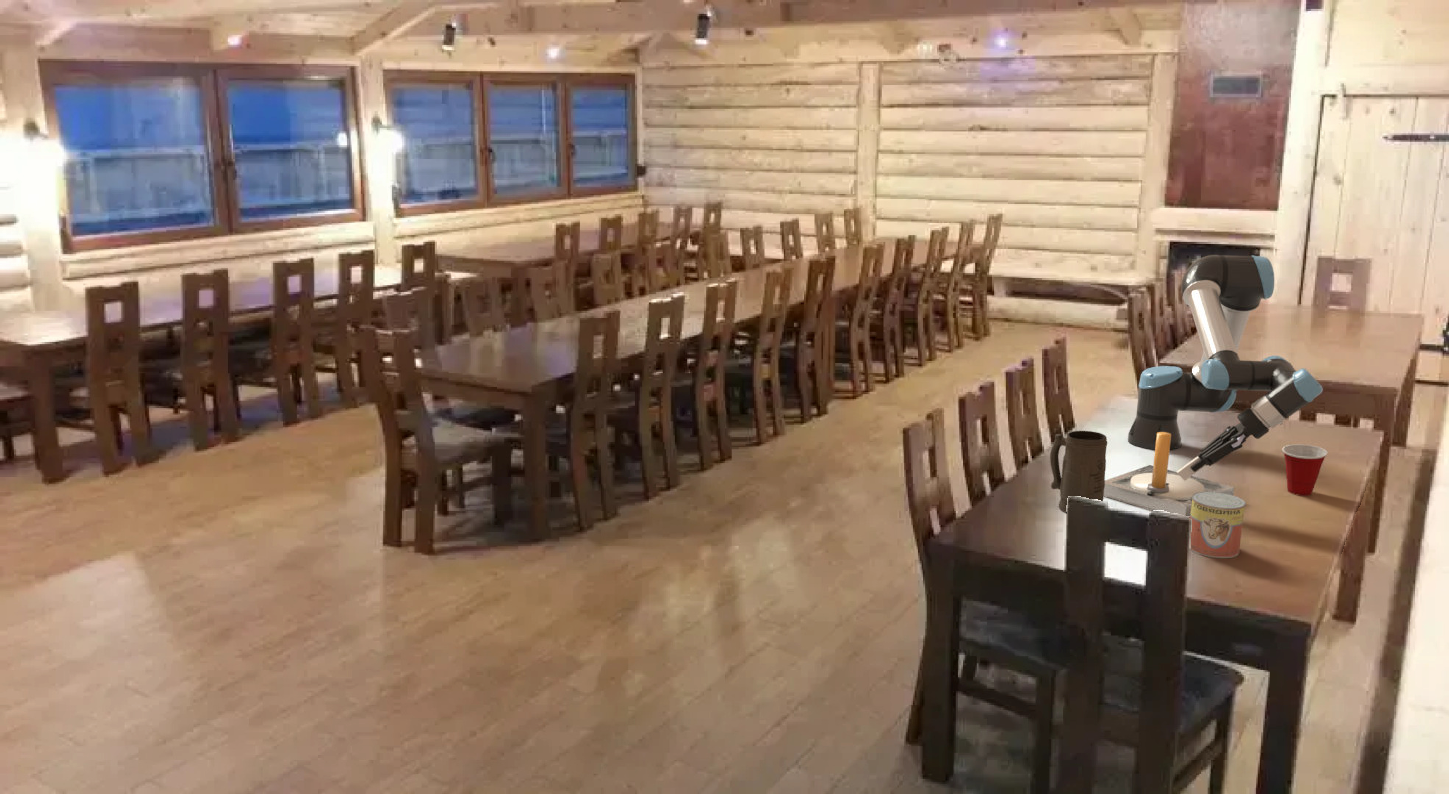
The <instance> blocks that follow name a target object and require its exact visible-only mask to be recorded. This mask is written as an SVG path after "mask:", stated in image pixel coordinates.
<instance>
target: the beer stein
mask: <svg viewBox="0 0 1449 794" xmlns="http://www.w3.org/2000/svg"><path fill="white" fill-rule="evenodd" d="M1107 438H1108V437H1107V436H1106V434H1103V433H1101V432H1097V431H1090V430H1073V431H1070V432H1067V435H1066V437H1064V435H1062V434H1060V433H1056V434H1055V435H1054V441H1053V443H1052V447H1051V449H1050V453H1049V456H1050V457H1049V459H1050V460H1049V463H1050V468H1051V473H1052V475H1053V476H1052V477H1053V479H1052V480H1053V481H1052V482H1051V485H1050V487H1051V489H1052V490H1059V492H1060V493H1059V497H1060V500H1059V502H1058V508H1059V509H1060V510H1061V511H1062V512H1064V513H1066V505H1067V498H1068V496H1081V497H1086V498H1089V499H1098V500H1101V501H1102V502H1103V501H1104V497H1105V496H1104V488H1105V480H1106V479H1105V478H1106V477H1105V476H1106V465H1107V460H1106V456H1107V446H1108V441H1107V440H1108V439H1107ZM1063 446H1064V448H1065V450H1064V451H1065V452H1064V456H1063V460H1062V469H1061V468H1060V461H1059V453H1060V449H1061V447H1063ZM1060 469H1061V470H1060Z"/></svg>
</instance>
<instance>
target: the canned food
mask: <svg viewBox="0 0 1449 794" xmlns="http://www.w3.org/2000/svg"><path fill="white" fill-rule="evenodd" d="M1245 509H1246V501H1245V500H1244V499H1242V498H1240V496H1237V495H1234V494H1233V495H1230V494H1225V493H1219V492H1199V493H1195V494H1194V495H1193V496H1192V506H1191V515H1190V518H1189V520H1190V519H1192V532H1191V550H1190V551H1191V552H1193V553H1195V554H1198V555H1201V556H1204V557H1209V558H1215V559H1230V558H1235V557H1237V556H1238V555H1239V554H1240V547H1241V541H1242V539H1241V538H1242V531H1243V522H1244V516H1245Z"/></svg>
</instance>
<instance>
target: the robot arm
mask: <svg viewBox="0 0 1449 794" xmlns="http://www.w3.org/2000/svg"><path fill="white" fill-rule="evenodd" d="M1180 283H1181V285H1180V291H1181V292H1180V293H1181V297H1182V299H1183V302H1184V304H1186V305H1187V306H1188V307H1189V309H1190V311H1191V315H1192V318H1193V321H1194V324H1195V328H1196V331H1197V334H1198V338H1199V341H1200V343H1201V346H1202V350H1203V352H1202V355H1201V357H1200V358H1201V359H1200V361H1198V362H1196V363H1195V364H1194V365H1193V366H1192V368H1191V372H1185V371H1184V372H1183V369H1182V368H1180V367H1179V366H1174V365H1173V366H1170V365H1159V366H1152V367H1148V368H1146V369H1144V370H1143V371H1142V372H1141V374H1140V379H1139V383H1138V396H1137V406H1136V414H1135V418H1134V421H1133V423H1132V425H1131V427H1130V429H1129V431H1128V435H1127V437H1128V438H1127V442H1128V443H1129V444H1131V445H1133V446H1137V447H1139V448H1144V449H1150V450H1155V447H1156V437H1157V433H1158V432H1166V433H1170V434H1171V441H1170V450H1175V449H1178V448H1180V447H1181V446H1182V445H1181V444H1182V437H1181V433H1180V428H1179V424H1178V414H1179V412H1183V411H1184V412H1201V413H1202V412H1203V413H1204V412H1207V413H1217V412H1219V413H1223V412H1226V411H1227V410H1229V409H1231V407H1232V406H1233V404H1234V403H1235V401H1236V397H1237V391H1250V392H1251V391H1257V392H1267V393H1266V394H1264V395H1263V396H1261V397H1260V398H1258V399H1257V400H1255V402H1253V403H1252V404H1251V405H1250V406H1251V407H1246V408H1245V409H1244V410H1243V411H1241V412H1240V413H1239V414H1238V415H1237V416H1236V417H1237V419H1238V421H1239V423H1237V424H1236V425H1232V426H1231V425H1229V426H1227V427H1226V428H1225V429H1224V430H1223V431H1222V432H1221V433H1219V435H1217V436H1216V437H1215V438H1213V440H1211V441H1210V442H1209V443H1208V444H1207V445H1206V446H1204V447H1203V448H1202V449H1201V450H1200V451H1199V452H1200V453H1199V454H1197V456H1196V457H1194V458H1193V459H1192V460H1191V461H1188V462H1187V463H1186V464H1184V466H1182V467H1181V468H1180V469H1178V470H1177V471H1176V472H1177V473H1178V474H1179V475H1180V476H1181V477H1182V479H1183V480H1184V481H1185V480H1187V479H1188V478H1189V477H1191V476H1194V475H1195V474H1197V472H1199V471H1201V470H1202V469H1203V468H1204V467H1206V466H1209V467H1210V466H1213V464H1216V463H1217V462H1219V461H1221V460H1222V459H1223V458H1225V457H1226V456H1229V455H1230V454H1232V453H1233V452H1235V451H1237V450H1239V449H1241V448H1243V444H1244V443H1246V441H1247V439H1248V438H1249V437H1250V436H1252V437H1253V438H1254V439H1256V440H1259V439H1261V438H1262V437H1263V436H1265V435H1266V434H1267V433H1269V431H1270V429H1274V428H1275V427H1277V426H1278V425H1281V426H1282V425H1283V424H1284V421H1285V420H1286V419H1288V418H1289V417H1291V416H1292V415H1294V414H1295V413H1297V412H1298V411H1300V410H1301V409H1302V408H1303V407H1305V406H1307V405H1308V404H1310V403H1311V402H1313V401H1314V399H1315V398H1316V397H1318V396H1319V395H1321V394H1322V392H1323V390H1324V388H1323V386H1322V385H1321V383H1319V381H1317V380H1316V378H1315V377H1314V376H1313V375H1312V374H1311V373H1310V372H1309V371H1308V370H1307V369H1306V368H1300V369H1298V370H1296V369H1295V368H1294V366H1293V365H1292V364H1291V363H1290V362H1289V361H1288V360H1286V359H1285V358H1284V357H1282V356H1279V355H1271V356H1268V357H1265V358H1263V359H1262V360H1242V359H1240V357H1239V353H1238V350H1239V347H1240V343H1241V341H1242V337H1243V335H1244V332H1245V329H1246V327H1247V323H1248V322H1249V321H1248V320H1249V318H1250V315H1251V312H1252V311H1254V310H1257V309H1258V308H1259V306H1260V304H1261V300H1267V299H1270V298H1272V296H1273V294H1274V290H1275V273H1274V267H1273V264H1272V263H1271V261H1270V258H1268V257H1267V256H1257V255H1251V256H1250V255H1221V254H1219V255H1218V254H1212V255H1207V256H1203V257H1201V258H1198V259H1197V260H1195V261H1194V262H1192V264H1190V266H1189V267H1188V268H1187V270H1186V271H1185V273H1184V274H1183V276H1182V279H1181V282H1180Z"/></svg>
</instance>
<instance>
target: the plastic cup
mask: <svg viewBox="0 0 1449 794" xmlns="http://www.w3.org/2000/svg"><path fill="white" fill-rule="evenodd" d="M1281 451H1282V452H1283V456H1284V461H1285V473H1286V474H1285V475H1286V489H1287V492H1288V493H1291V494H1293V495H1296V494H1297V496H1311V495H1312V493H1313V491H1314V488H1315V485H1316V483H1317V480H1318V477H1319V473H1320V471H1321V468H1322V465H1323V463H1324V461H1325V459H1326V457H1327V455H1328V453H1329V452H1328V451H1327V449H1325V448H1323V447H1320V446H1316V445H1312V444H1306V443H1305V444H1304V443H1303V444H1302V443H1300V444H1299V443H1297V444H1296V443H1294V444H1286V445H1285V446H1283V447H1282V448H1281Z"/></svg>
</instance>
